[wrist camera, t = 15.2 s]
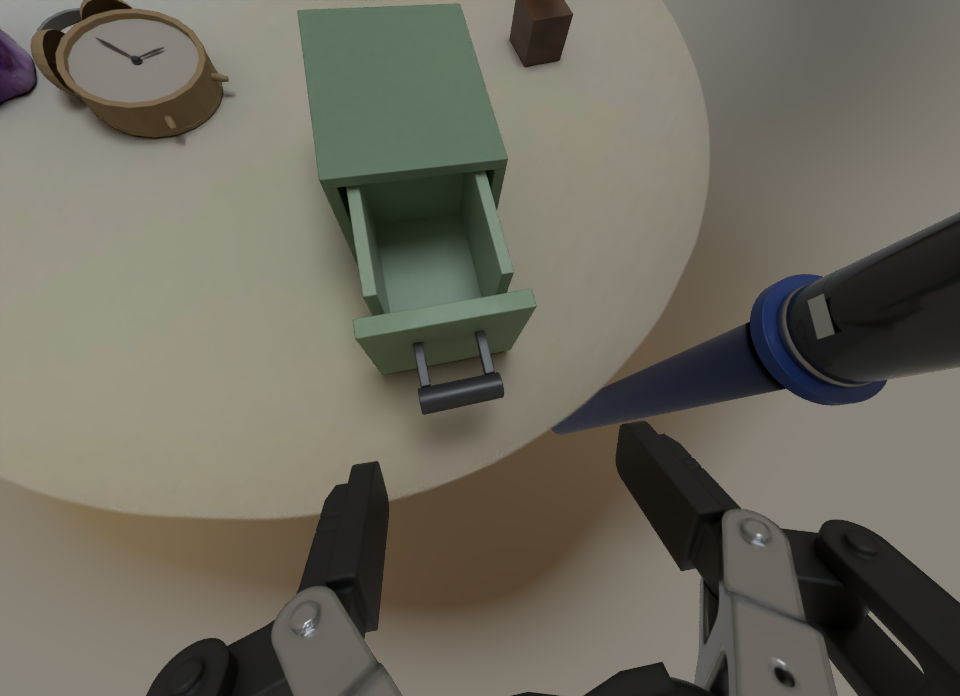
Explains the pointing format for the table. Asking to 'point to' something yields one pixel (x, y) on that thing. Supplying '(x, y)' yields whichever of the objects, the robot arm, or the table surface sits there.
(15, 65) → the figurine
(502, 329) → the drawer
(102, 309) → the table surface
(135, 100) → the alarm clock
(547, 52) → the block
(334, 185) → the cabinet
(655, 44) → the table surface
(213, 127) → the table surface
